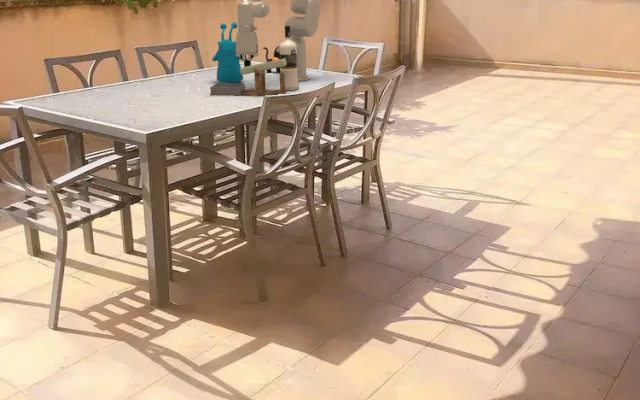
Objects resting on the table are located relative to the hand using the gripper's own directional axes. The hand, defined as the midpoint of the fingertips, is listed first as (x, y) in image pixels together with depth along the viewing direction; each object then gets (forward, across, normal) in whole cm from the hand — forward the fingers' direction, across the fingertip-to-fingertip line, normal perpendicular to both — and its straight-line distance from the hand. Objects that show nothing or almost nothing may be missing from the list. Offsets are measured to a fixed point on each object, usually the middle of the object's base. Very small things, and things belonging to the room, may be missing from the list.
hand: (247, 68), depth 330 cm
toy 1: (+10, +14, -22) cm, 29 cm away
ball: (-5, -16, +10) cm, 19 cm away
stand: (+10, -10, +9) cm, 17 cm away
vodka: (+10, -20, -2) cm, 22 cm away
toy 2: (+10, -4, -52) cm, 53 cm away
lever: (+1, -10, +5) cm, 11 cm away
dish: (+10, +8, +9) cm, 16 cm away
